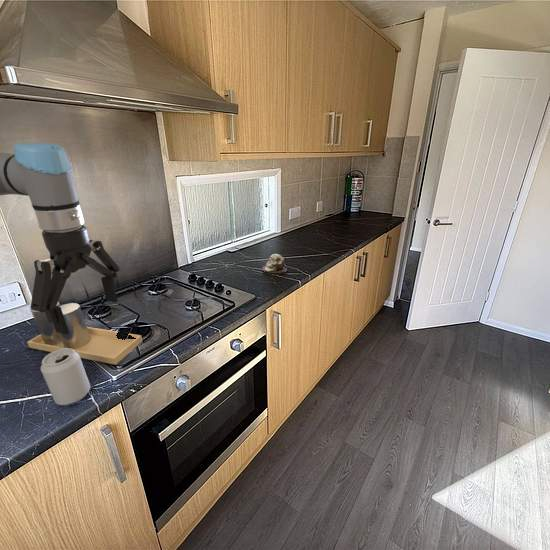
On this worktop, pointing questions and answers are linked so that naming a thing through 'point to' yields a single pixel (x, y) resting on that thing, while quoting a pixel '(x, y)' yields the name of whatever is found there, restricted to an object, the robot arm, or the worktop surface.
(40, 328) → the silver can
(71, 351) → the can
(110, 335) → the tray
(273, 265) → the skull
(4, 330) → the worktop surface
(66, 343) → the silver can
